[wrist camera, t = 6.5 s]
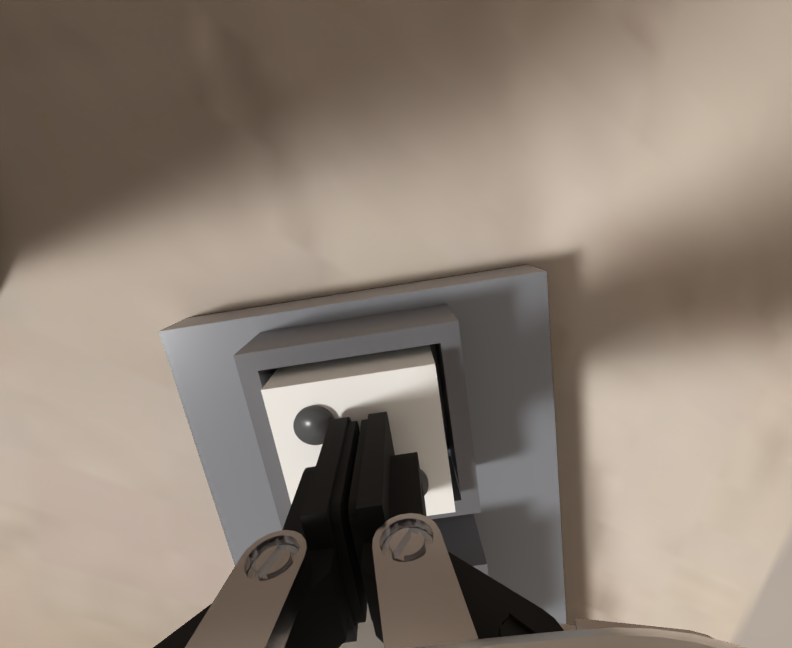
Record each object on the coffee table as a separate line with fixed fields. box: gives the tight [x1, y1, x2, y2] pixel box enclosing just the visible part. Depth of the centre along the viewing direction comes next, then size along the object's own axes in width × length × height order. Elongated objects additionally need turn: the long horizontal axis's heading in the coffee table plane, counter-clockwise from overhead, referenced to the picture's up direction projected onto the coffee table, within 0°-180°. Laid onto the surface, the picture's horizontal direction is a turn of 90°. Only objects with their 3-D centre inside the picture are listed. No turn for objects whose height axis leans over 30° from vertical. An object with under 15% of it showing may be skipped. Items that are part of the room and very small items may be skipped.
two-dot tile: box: [261, 345, 456, 516], centre depth 13 cm, size 5×5×3 cm
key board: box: [159, 265, 566, 624], centre depth 17 cm, size 26×14×4 cm, turn 9°
